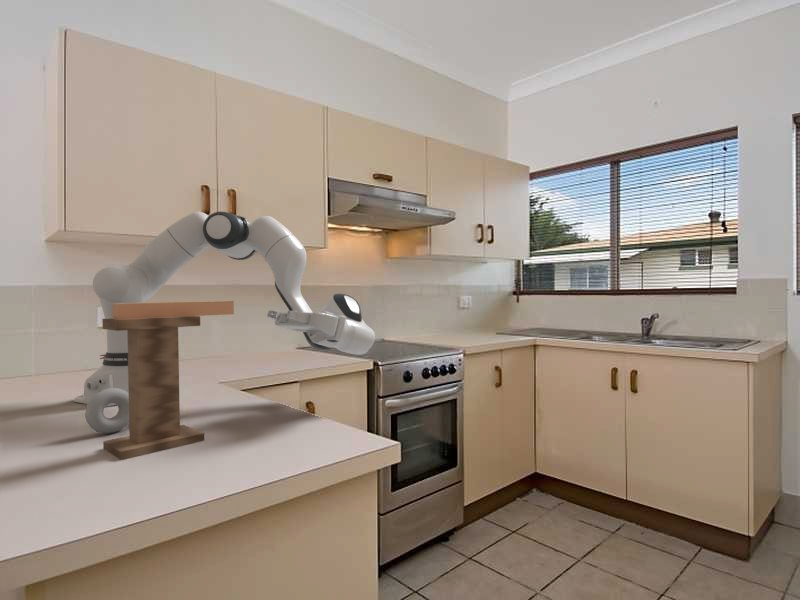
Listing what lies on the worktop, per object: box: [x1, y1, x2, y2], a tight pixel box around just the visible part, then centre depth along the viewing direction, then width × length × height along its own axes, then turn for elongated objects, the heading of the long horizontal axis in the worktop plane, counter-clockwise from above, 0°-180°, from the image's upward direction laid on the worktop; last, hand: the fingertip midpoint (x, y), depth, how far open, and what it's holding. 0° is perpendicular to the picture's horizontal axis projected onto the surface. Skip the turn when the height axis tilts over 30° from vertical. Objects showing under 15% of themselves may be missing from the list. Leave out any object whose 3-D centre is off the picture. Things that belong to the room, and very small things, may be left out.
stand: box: [101, 316, 205, 461], centre depth 101 cm, size 16×10×26 cm, turn 137°
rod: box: [112, 300, 235, 319], centre depth 104 cm, size 24×3×3 cm, turn 137°
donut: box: [84, 388, 129, 434], centre depth 110 cm, size 10×4×10 cm, turn 141°
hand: (278, 313), depth 120 cm, fingers open, 8 cm apart
